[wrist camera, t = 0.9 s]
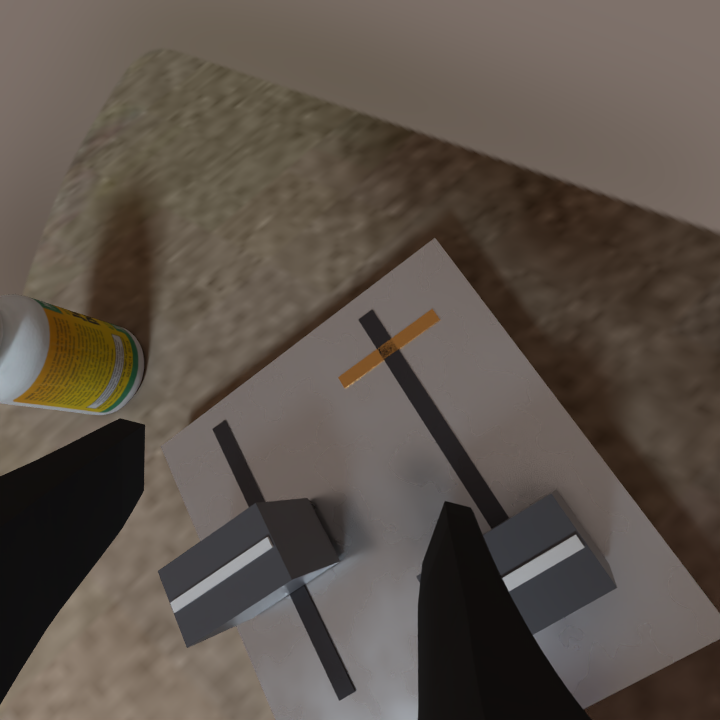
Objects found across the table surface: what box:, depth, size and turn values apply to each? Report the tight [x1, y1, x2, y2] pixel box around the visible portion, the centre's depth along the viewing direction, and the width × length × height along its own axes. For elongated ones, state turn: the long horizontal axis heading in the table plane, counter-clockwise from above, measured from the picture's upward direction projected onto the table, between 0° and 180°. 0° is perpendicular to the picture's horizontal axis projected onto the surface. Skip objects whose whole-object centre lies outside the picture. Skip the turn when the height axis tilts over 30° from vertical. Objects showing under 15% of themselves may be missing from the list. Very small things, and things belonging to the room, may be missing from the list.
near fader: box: [416, 489, 617, 635], centre depth 18 cm, size 3×5×4 cm, turn 122°
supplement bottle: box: [0, 294, 144, 415], centre depth 28 cm, size 5×5×10 cm
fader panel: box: [161, 238, 720, 720], centre depth 23 cm, size 18×17×2 cm
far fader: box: [158, 498, 340, 648], centre depth 22 cm, size 3×5×4 cm, turn 122°
